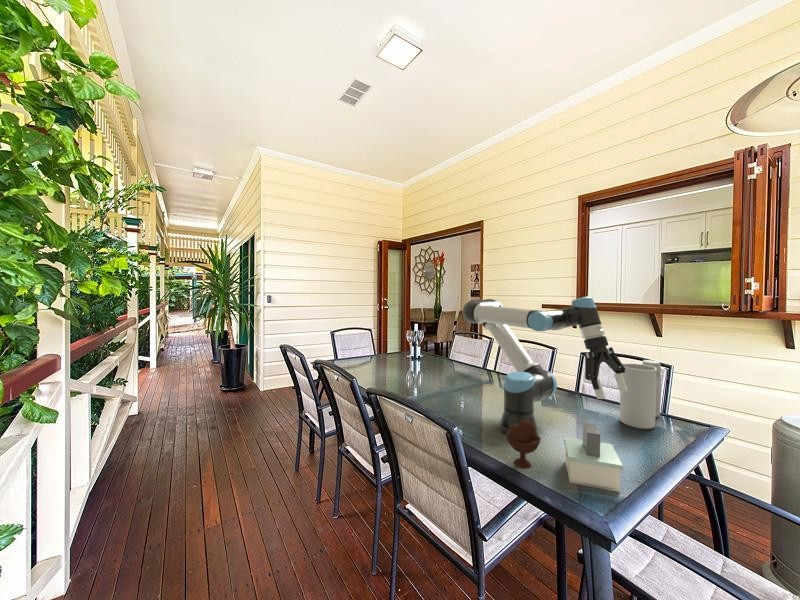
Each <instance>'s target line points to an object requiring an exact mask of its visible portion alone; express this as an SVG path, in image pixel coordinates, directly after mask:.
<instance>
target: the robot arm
mask: <svg viewBox="0 0 800 600" xmlns="http://www.w3.org/2000/svg"><path fill="white" fill-rule="evenodd" d="M462 317H463V318H464V320H466V322H468V323H471V324H479V325H480V324H481V326H482V327H483V329H485V330H486V331H489V333H491V334H492V336H493V338H494V339H495V341H496V343H497V344H498V345H499V347H500V348H501V350H502V351H503V353H504V354H505V356H506V358H507V359H508V360H509V363H510V364H511V365H512V367H513V369H515V371H513V372H509V373H508V374H506V375H505V377H504V381H503V382H504V383H503V404H504V405H503V413H502V415H501V418H500V420H499V431H500V432H501V433H503V434H505V435H506V433H507V432H508V431H509V429H510V427H511V426H512V425H514V424H516V423H520V422H521V421H523V420H529V421H531V422H532V423H533V424H534V425H535V427H536V433H537V435H538V436H539V426H538V423H537V419H536V417H535V412H534V411H535V403H537V402H540V401H542V400H548V399H549V398H551V397H552V396H554V395H555V393H556V392H557V387H558V383H557V379H556V377H555V376H554V374H553V373H552V372H550V371H548V370H546V369H544V368H543V367H542V366H541V364H540V363H537V362H535V361H533V359H532V357H531V356H530V355H529V353H528V352H527V351H526V349H525V347H523V345H522V343H521V342H520V341H519V339H518V338H517V336H516V335H515V334H514V332H513V331H512V329H511V328H510V327H511V326H512V327H518V328H524V329H531V330H532V331H535V332H545V331H556V330H557V331H559V330H563V329H566V328H570V327H575V326H578V328H579V331H580V333H581V337H582V339H584V340H583V343H584V346H585V349H586V350H589V351H587V352H584V353H583V354H584V358H585V359H584V362H585V365H584V366H585V367H584V371H585V372H584V374H585V375H584V377H585V380H587V381H589V382H590V383H591V385H592V389H593V390H594V393H595V396H596V397H595V398H596V399H597V400H604V399H606V394H605V392H604V388H603V385H602V383H601V380H600V379H599V378H598V377H599V373H600V368H601V367H600V366H601V364H602V363H605V364H606V365H607V366H608V368H610V370H612V371H613V372H614V374H613V375H614V378H615V382H616V385H617V388H618V390H619V393H620V392H623V391H628V389H627V386H626V383H625V380H624V377H623V374H622V373H625V367H624V366H623V364H624V363H622V362H621V360H620V359H619V357H618V356H617V353H615V350H614V349H613V347H612V346H611V347H608V346H609V342H608V338H607V336H605V330H604V326H603V325H602V322H601V321H602V320H601V317H600V315H599V312H598V307H597V306H596V304H595V300H594V299H593V297H591V296H583V297H579V298H575V299H572V301H571V306H569V307H566V308H565V307H564V308H562V309H555V310H537V309H526V308H515V307H504V305H503V304H502V303H501V302H500V301H499V300H497V299H494V298H486V299H471V300H469V301H467V302H465V304H464V305H463V306H462Z"/></svg>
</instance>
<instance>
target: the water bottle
mask: <svg viewBox="0 0 800 600" xmlns="http://www.w3.org/2000/svg"><path fill="white" fill-rule="evenodd" d="M641 365H648V366H652V367H655V368H656V369H657V370H656V409H655V418H659V417H660V416H661V399H662V398H661V397H662V392H661V391H662V373H663V372H662V367H661V362H660V361H658V360H653V359H648V360H647V359H643V360H642V363H641Z"/></svg>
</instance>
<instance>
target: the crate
mask: <svg viewBox="0 0 800 600" xmlns="http://www.w3.org/2000/svg"><path fill="white" fill-rule="evenodd" d="M564 455H565V457H564V458H565V459H564V461H565V462H564V463H565V467H566V471H567V476H568V480H569V484H575V485H580V486H586V487H589V488H590V487H592V488H596V489H601V490H606V491H613V492H617V493H620V492H621V470H622V469H616V468H610V467H604V466H598V465H592V464H586V463H580V462H574V461H569V460H568V456H567V452H566V448H565V454H564Z"/></svg>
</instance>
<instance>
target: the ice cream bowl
mask: <svg viewBox="0 0 800 600" xmlns="http://www.w3.org/2000/svg"><path fill="white" fill-rule="evenodd" d="M505 438H506V440H507V443H508V444H509V445H510V447H511V448H512V449H513V450H514V451H516V452H517V453H519V458H516V459H515V460H513V463H514V465H515V466H517V467H519V468H522V469H529V468H531V467H532V463H531V462H530V460H528V459H527V458H526V457H527V455H526V454H531V453H533V452H534V451H536V450H537V448H538V447H539V445H540V443H541V441H542V438H541V437H540V436H539V434H538V435H537V433H536V427H535V425H534V424H533V423H532V422H531V421H529V420H523V421H521V422H520V423H516V424H514V425H512V426H511V427H510V429H509V431H508V432H507V433H506V434H505Z"/></svg>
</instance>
